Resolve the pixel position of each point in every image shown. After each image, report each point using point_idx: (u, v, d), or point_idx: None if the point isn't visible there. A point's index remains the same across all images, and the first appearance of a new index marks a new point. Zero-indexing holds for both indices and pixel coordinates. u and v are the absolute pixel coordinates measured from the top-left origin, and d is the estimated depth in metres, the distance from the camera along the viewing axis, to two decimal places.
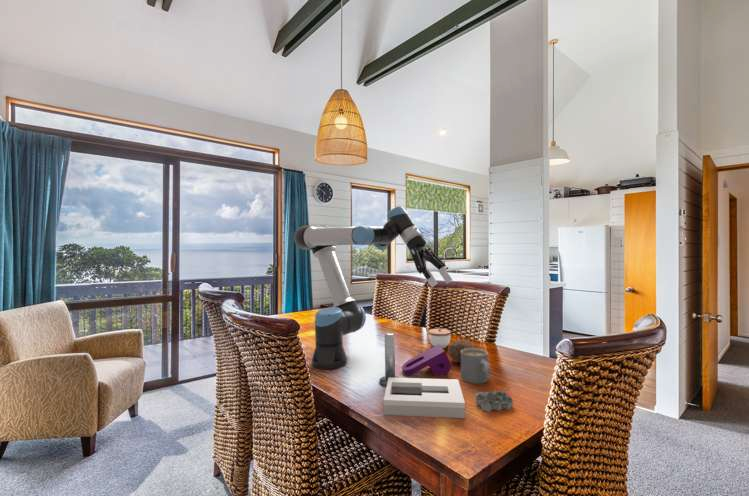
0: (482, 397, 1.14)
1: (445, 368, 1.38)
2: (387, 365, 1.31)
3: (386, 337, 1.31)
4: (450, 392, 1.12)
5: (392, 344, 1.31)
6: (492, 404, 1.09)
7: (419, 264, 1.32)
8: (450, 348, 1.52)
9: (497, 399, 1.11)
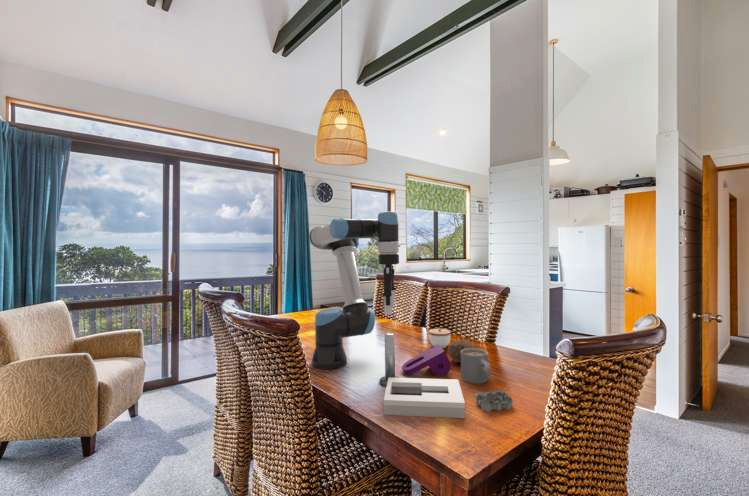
0: (482, 398, 1.14)
1: (445, 368, 1.38)
2: (387, 365, 1.31)
3: (386, 337, 1.31)
4: (450, 392, 1.12)
5: (392, 344, 1.31)
6: (492, 404, 1.09)
7: (389, 289, 1.22)
8: (450, 348, 1.52)
9: (497, 399, 1.11)
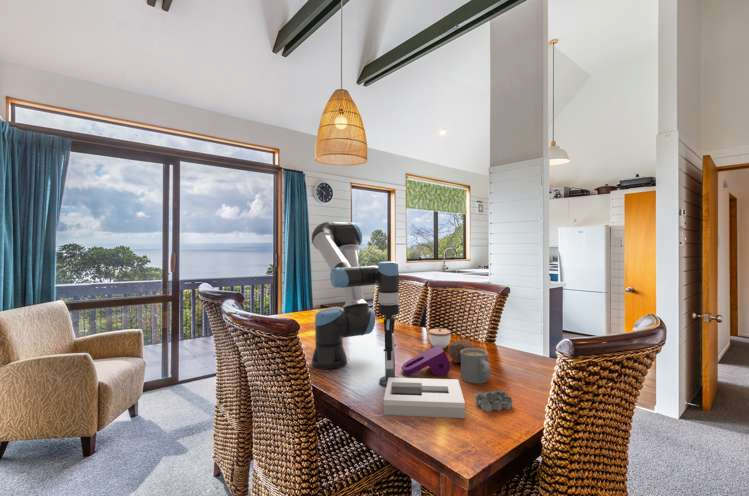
0: (481, 398, 1.14)
1: (445, 368, 1.38)
2: None
3: None
4: (450, 392, 1.12)
5: (392, 344, 1.31)
6: (492, 404, 1.09)
7: (390, 346, 1.26)
8: (450, 348, 1.52)
9: (497, 399, 1.11)
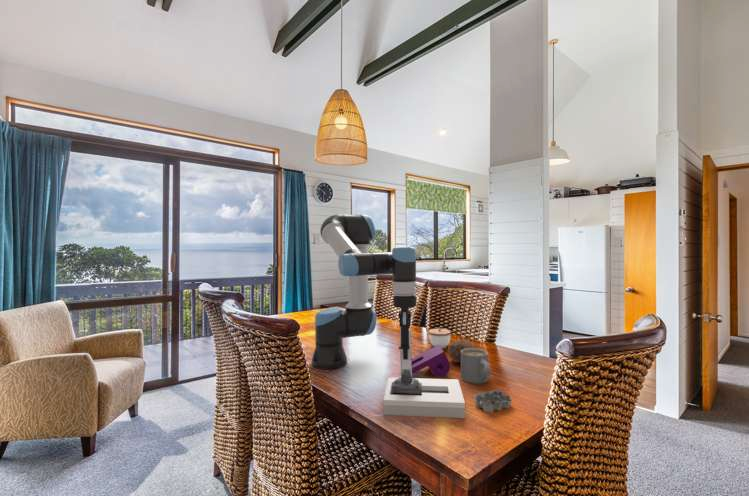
0: (480, 398, 1.13)
1: (444, 368, 1.38)
2: None
3: None
4: (450, 392, 1.12)
5: (409, 341, 1.14)
6: (493, 404, 1.09)
7: (407, 343, 1.10)
8: (450, 348, 1.52)
9: (496, 398, 1.12)
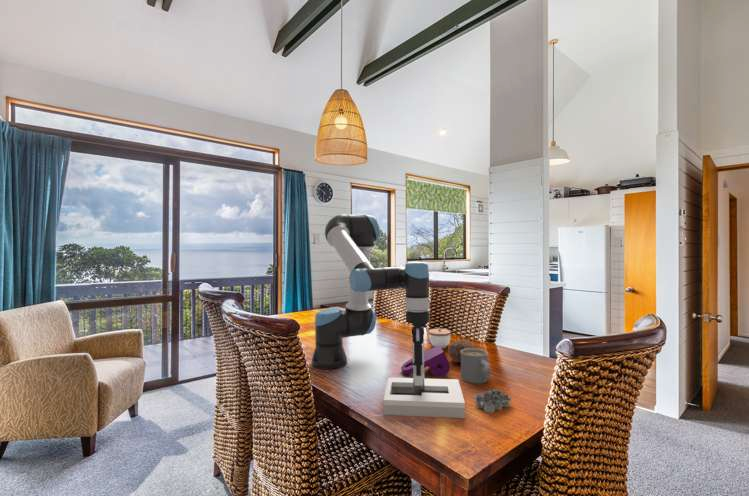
0: (480, 399, 1.13)
1: (444, 369, 1.38)
2: None
3: None
4: (450, 392, 1.12)
5: (422, 357, 1.13)
6: (494, 404, 1.09)
7: (420, 360, 1.09)
8: (450, 348, 1.52)
9: (496, 398, 1.12)
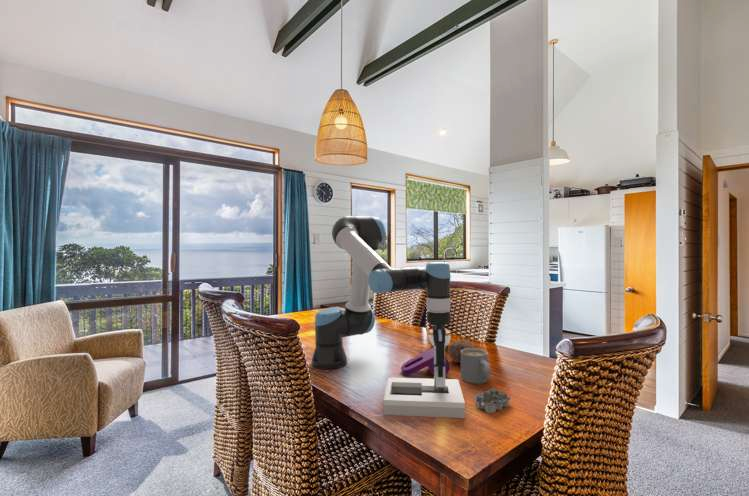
0: (480, 399, 1.13)
1: None
2: None
3: None
4: (450, 392, 1.12)
5: None
6: (495, 404, 1.09)
7: (442, 361, 1.08)
8: (450, 348, 1.52)
9: (495, 398, 1.12)
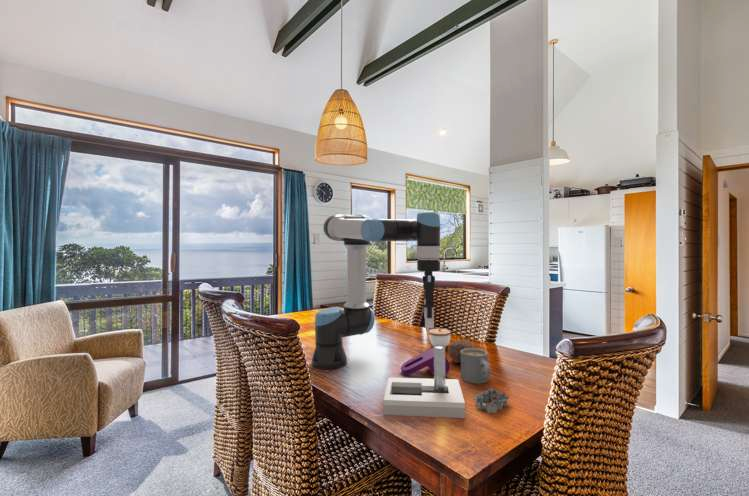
0: (480, 400, 1.12)
1: None
2: (437, 384, 1.13)
3: (436, 351, 1.13)
4: (450, 392, 1.12)
5: (443, 359, 1.13)
6: (495, 404, 1.09)
7: (431, 300, 1.08)
8: (450, 348, 1.52)
9: (495, 398, 1.12)
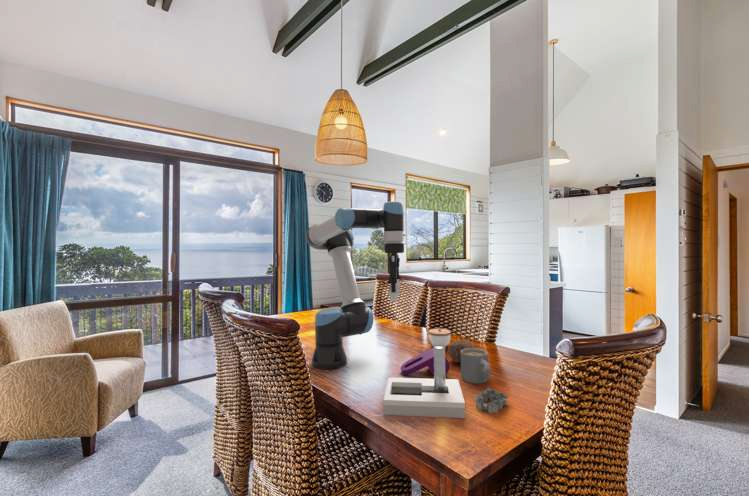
0: (480, 400, 1.12)
1: None
2: (437, 384, 1.13)
3: (436, 351, 1.13)
4: (450, 392, 1.12)
5: (443, 359, 1.13)
6: (496, 403, 1.09)
7: (394, 276, 1.26)
8: (450, 348, 1.52)
9: (494, 398, 1.12)
